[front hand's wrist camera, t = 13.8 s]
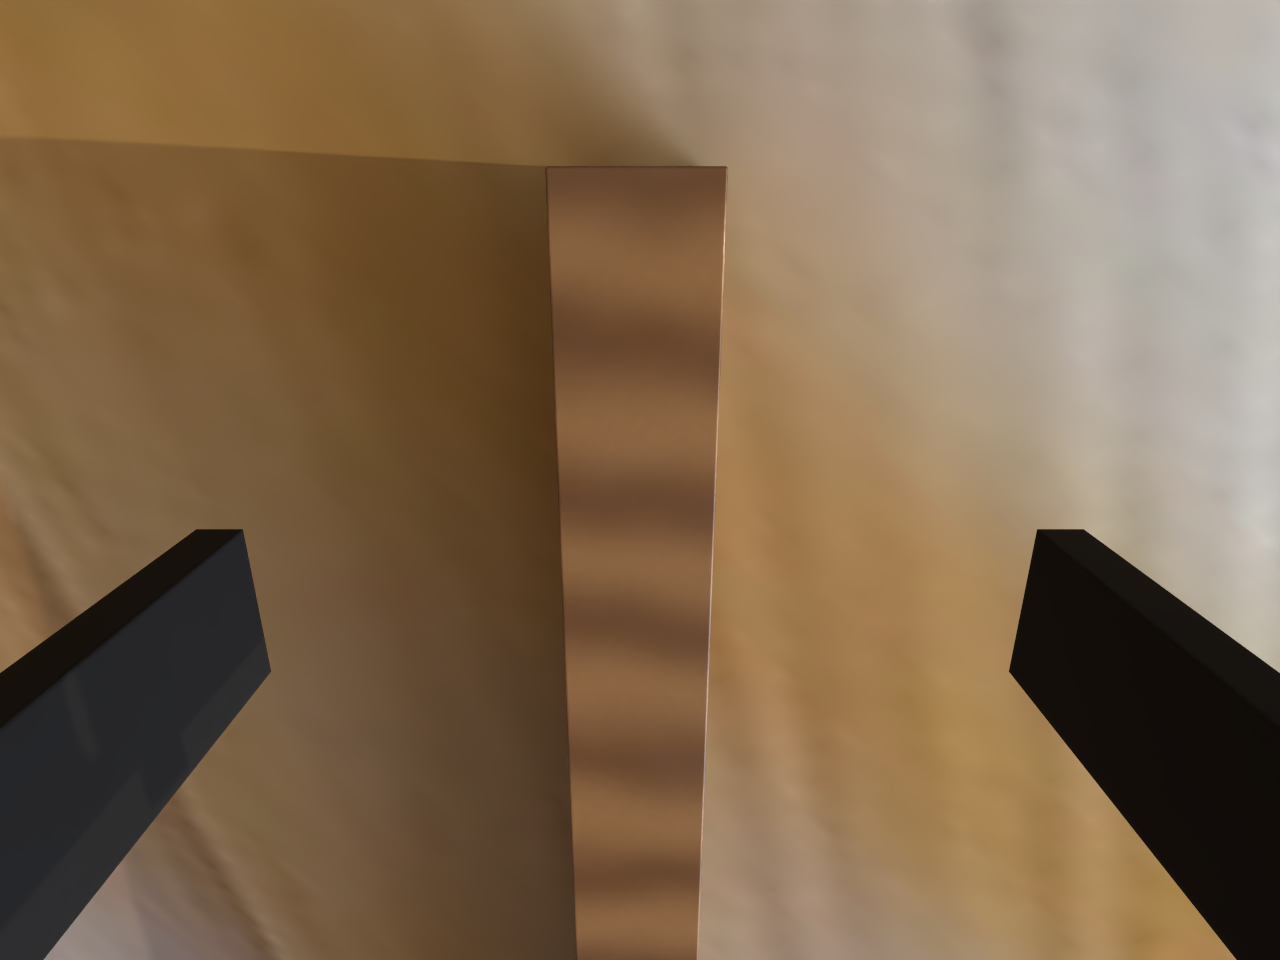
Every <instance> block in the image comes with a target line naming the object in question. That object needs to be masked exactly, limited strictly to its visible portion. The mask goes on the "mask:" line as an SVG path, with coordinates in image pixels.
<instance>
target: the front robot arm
mask: <svg viewBox="0 0 1280 960" xmlns="http://www.w3.org/2000/svg"><path fill="white" fill-rule="evenodd" d="M270 672H271V669H270V664H269V659H268V654H267V649H266V644H265V639H264V634H263V629H262V624H261V619H260V614H259V609H258V604H257V599H256V594H255V589H254V584H253V579H252V574H251V569H250V563H249V558H248V553H247V548H246V543H245V538H244V533H243V529H196V530H195V531H194V532H192V533H191V534H189V535H188V536H187V537H185V538H184V539H183V540H181V541H180V542H179V543H177V544H176V545H174V546H173V547H172V548H170V549H169V550H168V551H166V552H165V553H164V554H162V555H161V556H159V557H158V558H157V559H155V560H154V561H153V562H151V563H150V564H149V565H147V566H146V567H144V568H143V569H142V570H140V571H139V572H138V573H136V574H135V575H134V576H132V577H131V578H129V579H128V580H127V581H125V582H124V583H123V584H121V585H120V586H119V587H117V588H116V589H114V590H113V591H112V592H110V593H109V594H108V595H106V596H105V597H104V598H102V599H101V600H99V601H98V602H97V603H95V604H94V605H93V606H91V607H90V608H89V609H87V610H86V611H84V612H83V613H82V614H80V615H79V616H78V617H76V618H75V619H74V620H72V621H71V622H69V623H68V624H67V625H65V626H64V627H63V628H61V629H60V630H59V631H57V632H56V633H54V634H53V635H52V636H50V637H49V638H48V639H46V640H45V641H44V642H42V643H41V644H39V645H38V646H37V647H35V648H34V649H33V650H31V651H30V652H29V653H27V654H26V655H24V656H23V657H22V658H20V659H19V660H18V661H16V662H15V663H14V664H12V665H11V666H9V667H8V668H7V669H5V670H4V671H3V672H1V673H0V960H43V959H44V958H45V957H46V956H47V954H48V953H49V952H50V951H51V949H52V948H53V947H54V946H55V944H56V943H57V942H58V941H59V939H60V938H61V937H62V935H63V934H64V933H65V932H66V930H67V929H68V928H69V927H70V925H71V924H72V923H73V922H74V920H75V919H76V918H77V916H78V915H79V914H80V913H81V911H82V910H83V909H84V908H85V906H86V905H87V904H88V903H89V901H90V900H91V899H92V897H93V896H94V895H95V894H96V892H97V891H98V890H99V889H100V887H101V886H102V885H103V884H104V882H105V881H106V880H107V878H108V877H109V876H110V875H111V873H112V872H113V871H114V870H115V868H116V867H117V866H118V865H119V863H120V862H121V861H122V859H123V858H124V857H125V856H126V854H127V853H128V852H129V851H130V849H131V848H132V847H133V846H134V844H135V843H136V842H137V840H138V839H139V838H140V837H141V835H142V834H143V833H144V832H145V830H146V829H147V828H148V827H149V825H150V824H151V823H152V821H153V820H154V819H155V818H156V816H157V815H158V814H159V813H160V811H161V810H162V809H163V808H164V806H165V805H166V804H167V802H168V801H169V800H170V799H171V797H172V796H173V795H174V794H175V792H176V791H177V790H178V789H179V787H180V786H181V785H182V783H183V782H184V781H185V780H186V778H187V777H188V776H189V775H190V773H191V772H192V771H193V770H194V768H195V767H196V766H197V764H198V763H199V762H200V761H201V759H202V758H203V757H204V756H205V754H206V753H207V752H208V751H209V749H210V748H211V747H212V746H213V744H214V743H215V742H216V740H217V739H218V738H219V737H220V735H221V734H222V733H223V732H224V730H225V729H226V728H227V727H228V725H229V724H230V723H231V721H232V720H233V719H234V718H235V716H236V715H237V714H238V713H239V711H240V710H241V709H242V708H243V706H244V705H245V704H246V702H247V701H248V700H249V699H250V697H251V696H252V695H253V694H254V692H255V691H256V690H257V689H258V687H259V686H260V685H261V683H262V682H263V681H264V680H265V678H266V677H267V676H268V675H269V673H270ZM1009 672H1010V673H1011V675H1012V676H1013V677H1014V678H1015V680H1016V681H1017V682H1018V683H1019V685H1020V686H1021V687H1022V689H1023V690H1024V691H1025V692H1026V694H1027V695H1028V696H1029V697H1030V699H1031V700H1032V701H1033V702H1034V704H1035V705H1036V706H1037V708H1038V709H1039V710H1040V711H1041V713H1042V714H1043V715H1044V716H1045V718H1046V719H1047V720H1048V721H1049V723H1050V724H1051V725H1052V727H1053V728H1054V729H1055V730H1056V732H1057V733H1058V734H1059V735H1060V737H1061V738H1062V739H1063V740H1064V742H1065V743H1066V744H1067V746H1068V747H1069V748H1070V749H1071V751H1072V752H1073V753H1074V754H1075V756H1076V757H1077V758H1078V759H1079V761H1080V762H1081V763H1082V764H1083V766H1084V767H1085V768H1086V770H1087V771H1088V772H1089V773H1090V775H1091V776H1092V777H1093V778H1094V780H1095V781H1096V782H1097V783H1098V785H1099V786H1100V787H1101V789H1102V790H1103V791H1104V792H1105V794H1106V795H1107V796H1108V797H1109V799H1110V800H1111V801H1112V802H1113V804H1114V805H1115V806H1116V808H1117V809H1118V810H1119V811H1120V813H1121V814H1122V815H1123V816H1124V818H1125V819H1126V820H1127V821H1128V823H1129V824H1130V825H1131V827H1132V828H1133V829H1134V830H1135V832H1136V833H1137V834H1138V835H1139V837H1140V838H1141V839H1142V840H1143V842H1144V843H1145V844H1146V846H1147V847H1148V848H1149V849H1150V851H1151V852H1152V853H1153V854H1154V856H1155V857H1156V858H1157V859H1158V861H1159V862H1160V863H1161V865H1162V866H1163V867H1164V868H1165V870H1166V871H1167V872H1168V873H1169V875H1170V876H1171V877H1172V878H1173V880H1174V881H1175V882H1176V884H1177V885H1178V886H1179V887H1180V889H1181V890H1182V891H1183V892H1184V894H1185V895H1186V896H1187V897H1188V899H1189V900H1190V901H1191V903H1192V904H1193V905H1194V906H1195V908H1196V909H1197V910H1198V911H1199V913H1200V914H1201V915H1202V916H1203V918H1204V919H1205V920H1206V922H1207V923H1208V924H1209V925H1210V927H1211V928H1212V929H1213V930H1214V932H1215V933H1216V934H1217V935H1218V937H1219V938H1220V939H1221V941H1222V942H1223V943H1224V944H1225V946H1226V947H1227V948H1228V949H1229V951H1230V952H1231V953H1232V954H1233V956H1234V957H1235V958H1236V959H1237V960H1280V673H1279V672H1277V671H1276V670H1275V669H1273V668H1272V667H1271V666H1269V665H1268V664H1266V663H1265V662H1264V661H1262V660H1261V659H1260V658H1258V657H1257V656H1256V655H1254V654H1253V653H1251V652H1250V651H1249V650H1247V649H1246V648H1245V647H1243V646H1242V645H1241V644H1239V643H1238V642H1236V641H1235V640H1234V639H1232V638H1231V637H1230V636H1228V635H1227V634H1226V633H1224V632H1223V631H1221V630H1220V629H1219V628H1217V627H1216V626H1215V625H1213V624H1212V623H1211V622H1209V621H1208V620H1206V619H1205V618H1204V617H1202V616H1201V615H1200V614H1198V613H1197V612H1196V611H1194V610H1193V609H1191V608H1190V607H1189V606H1187V605H1186V604H1185V603H1183V602H1182V601H1181V600H1179V599H1178V598H1176V597H1175V596H1174V595H1172V594H1171V593H1170V592H1168V591H1167V590H1166V589H1164V588H1163V587H1161V586H1160V585H1159V584H1157V583H1156V582H1155V581H1153V580H1152V579H1151V578H1149V577H1148V576H1146V575H1145V574H1144V573H1142V572H1141V571H1140V570H1138V569H1137V568H1136V567H1134V566H1133V565H1131V564H1130V563H1129V562H1127V561H1126V560H1125V559H1123V558H1122V557H1121V556H1119V555H1118V554H1116V553H1115V552H1114V551H1112V550H1111V549H1110V548H1108V547H1107V546H1106V545H1104V544H1103V543H1101V542H1100V541H1099V540H1097V539H1096V538H1095V537H1093V536H1092V535H1091V534H1089V533H1088V532H1086V531H1085V530H1084V529H1037V533H1036V538H1035V543H1034V548H1033V553H1032V558H1031V563H1030V569H1029V574H1028V579H1027V584H1026V589H1025V594H1024V599H1023V604H1022V609H1021V614H1020V619H1019V624H1018V629H1017V634H1016V639H1015V644H1014V649H1013V654H1012V659H1011V664H1010V669H1009Z"/></svg>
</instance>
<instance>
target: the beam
mask: <svg viewBox="0 0 1280 960" xmlns="http://www.w3.org/2000/svg"><path fill="white" fill-rule="evenodd" d="M545 170H546V195H547V221H548V246H549V271H550V297H551V322H552V348H553V373H554V398H555V424H556V449H557V474H558V500H559V525H560V551H561V576H562V601H563V627H564V652H565V678H566V703H567V728H568V754H569V779H570V805H571V830H572V855H573V881H574V906H575V932H576V957H577V960H698V946H699V920H700V894H701V868H702V841H703V815H704V789H705V762H706V736H707V710H708V683H709V657H710V631H711V604H712V578H713V552H714V526H715V499H716V473H717V447H718V420H719V394H720V368H721V341H722V315H723V289H724V262H725V236H726V210H727V184H728V168H727V167H726V166H548V167H546V169H545Z"/></svg>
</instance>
